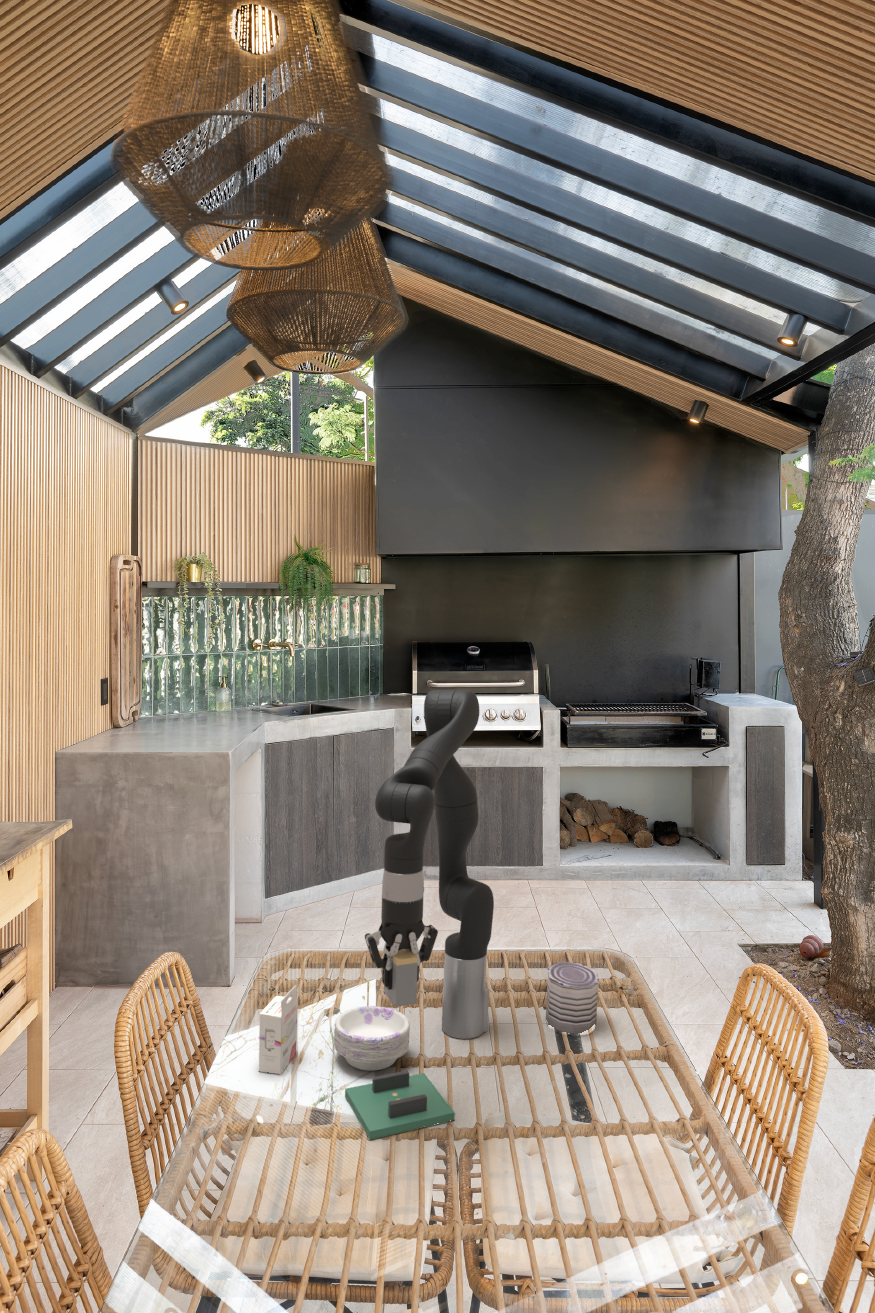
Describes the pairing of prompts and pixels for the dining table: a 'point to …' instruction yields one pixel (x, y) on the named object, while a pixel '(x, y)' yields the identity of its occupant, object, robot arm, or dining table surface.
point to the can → (571, 997)
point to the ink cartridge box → (278, 1033)
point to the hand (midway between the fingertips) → (400, 985)
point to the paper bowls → (371, 1036)
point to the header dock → (397, 1104)
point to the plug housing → (403, 979)
